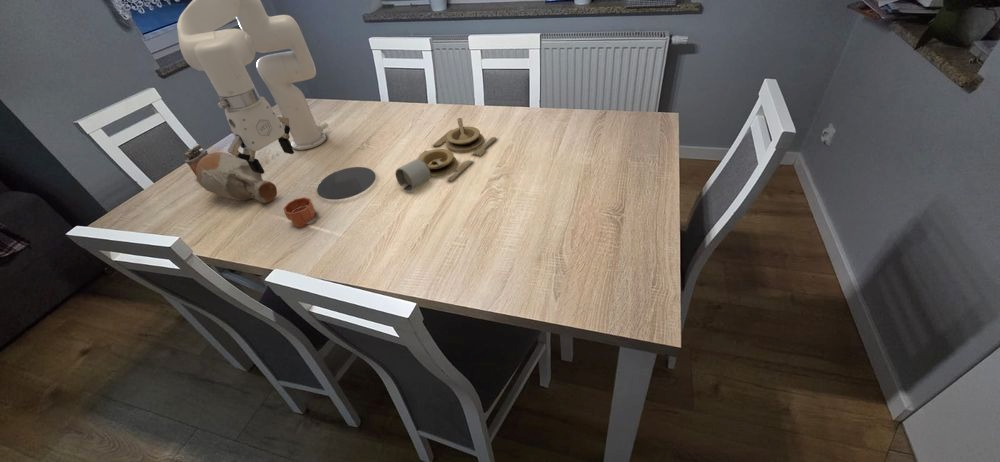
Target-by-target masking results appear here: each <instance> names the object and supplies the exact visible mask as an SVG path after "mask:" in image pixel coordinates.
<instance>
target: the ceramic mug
mask: <svg viewBox="0 0 1000 462" xmlns="http://www.w3.org/2000/svg"><path fill="white" fill-rule="evenodd" d="M394 174H395V178H396V181H397V183H398V184H399V186H400V187H402V186H403V185H405V184H407V183H408V184H407V185H406V186H405V187H404V188H403V190H404V191H406V192H408V193H410V192H413V191H415V190H416V189H417V188H419V187H420V186H422V185H423V184H424V183H426V182H427V181H428V180H429V179H430V178H431V177H430V175H431V173H430V169H429V167H428V165H427V164H426V163H425V162H424V161H422V160H420V159H418V158H417V159H413V160H411V161H410V162H407V163H405V164H404V165H402V166H400V167H397V169H396V170H395V173H394Z"/></svg>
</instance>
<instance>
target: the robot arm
mask: <svg viewBox="0 0 1000 462" xmlns="http://www.w3.org/2000/svg"><path fill="white" fill-rule="evenodd" d="M234 19H236V21H237V23H238V25H239V27H240V28H227V29H221V30H218V29H220V28H221V27H224V26H226V25H227V24H229V23H230V22H232V21H233V20H234ZM176 29H177V38H178V45H179V50H180V53H181V55H182V57H183V59H184V61H185V62H186V63H187V65H189V66H190V67H191V68H192V69H194V70H196V71H198V72H205V74H206V76H207V77H208V79H209V81H210V84H212V86H213V88H214V90H215V91H216V94H217V95H218V98H219V100H220V101H219V102H217V103H216V104H217V106H218V108H219V109H224V114H225V117H226V120H227V123H228V125H229V128H230V130H231V133H232V132H233V134H232V135H233V136H234V139H233V140H232V142H231V144H230V145H229V147H228V148H227V153H229V154H232V155H234V156H235V157H237V158H240V159H244V160H246V161H247V162H248V164H249V166H250V167H251V169H252V170H253V171H254V172H256V173H260V174H261V175H264V174H265V170H264V168H263V166H262V164H261V163H260V161H259V159H258V158H256V152H258V151H261V150H263V149H265V148H266V147H267V146H269V145H271V144H273V143H274V142H276V141H277V142H278V143H279V146H280V147H281V149H282V151H283V153H284V154H289V155H293V154H295V151H294V150H297V151H304V150H310V149H313V148H316V147H318V146H320V145H322V144H323V143H324V142H325V141H326V140H327V136H326V133H325V132H323V131H324V130H325V129H327V128H328V127H329V124H328V123H327V122H326V121H325V122H323V123H321V124H320V123H316V121H315V118H314V116H313V113H312V111H311V108H310V106H309V104H308V101H307V99H306V96H305V94H304V93H303V91H302V90H301V89H300V88H298V87H297V86H296V85H294V83H299V82H303V81H308V80H312V79H314V78H316V76H317V68H316V65H315V61H314V60H313V57H312V54H311V52H310V49H309V47H308V45H307V42H306V40H305V37H304V35H303V32H302V30H301V28H300V25H299V24H298V23H297V21H296V20H295V18H294V17H292V16H291V15H288V14H278V15H273V16H269V15H268V14H267V12H266V9H265V7H264V5H263V2H262V1H261V0H191V1H190V2H189V4H188V5H187V6H186V7H185V8H184V10H183V11H182V12H181V14H180V15H179V17H178V20H177V27H176ZM284 50H289V51H284ZM279 51H282V52H279ZM272 52H273V53H272ZM274 52H277V53H274ZM256 53H259V54H260V53H261V54H266V53H270V54H267V55H264V56H261V57H259V59H258V60H257V61H256V64H255V65H256V71H257V73H258V74H259V76H260V78H261V80H262V81H263V83H264V84H265V85H266V87H267V89H268V90H269V92H270V94H271V96H272V97H273V100H274V102H275V104H276V106H277V109H278V110H279V112H280V115H281V116H278V115H277V114H276V112H275V111H274V109H273V107H272V106H271V105H270V103H269V102H268V100H266V98H265V97H264V96H260V94H259V92H258V90H257V89H256V86H255V84H254V82H253V80H252V78H251V76H250V74H249V72H248V70H247V68H246V66H247V65H249V64H251V63H252V62H253V61H254V59H255V58H256ZM291 137H292V140H291V141H290V138H291ZM240 148H241V149H242V152H241V151H239V149H240Z"/></svg>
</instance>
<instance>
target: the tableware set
mask: <svg viewBox="0 0 1000 462" xmlns="http://www.w3.org/2000/svg"><path fill="white" fill-rule="evenodd" d="M456 121H457V125H458V127H457V128H454V129H451V130H449V131H448V132H446V133H445V134H444V135H443V136H442V137H441V138H439V139H438V140H437V141H436V142H434V143H433V145H432V146H433V147H434V148H435V149H429V150H424V152H422V153H421V154H420V155H419V156H418V157H417V159H420V160H422V161H424V162H425V163H426V164H427V165H428V167H429V169H430V173H431V175H430V178H433V177H434V178H436V177H441V176H444V175H447V174H449V173H450V172H452V171H454V170H455V171H456V172H455V173H454V174H452V175H450V177H449V178H448V182H449V183H452V182H454V181H455V180H456V179H457V178H458V177H459V176H461V174H462V173H463V172H464V171H465V170H466V169H467V168H469V167H470V166H471V165H472V164H473V161H472V160H465V161H464V162H463V163H461V165H460V166H458V159H457V157H456V156H455V155H454V153H453V152H460V153H461V152H462V153H463V152H470V151H473V150H475V149H476V150H475V151H474V152H473V153H472V156H477V157H482V156H483V155H484V154H485V153H486V149H488V148H489V147H490V146H491V145H493V144H494V143H495V142H496V141H497V138H496V136H495V137H494V136H493V137H491V138H490V139H488V141H487V142H486V143H484V141H485V137H484V135H483V134H482V133H481V131H480V130H479V129H478V128H477V127H475V126H469V125H468V126H464V122H463V118H462V117H458V118H457V120H456ZM444 143H445V146H446V148H447V149H446V148H438V147H440V146H441V145H443V144H444ZM483 144H484V145H483ZM481 145H483V146H481ZM479 147H480V148H479ZM452 151H453V152H452ZM457 166H458V167H457Z"/></svg>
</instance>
